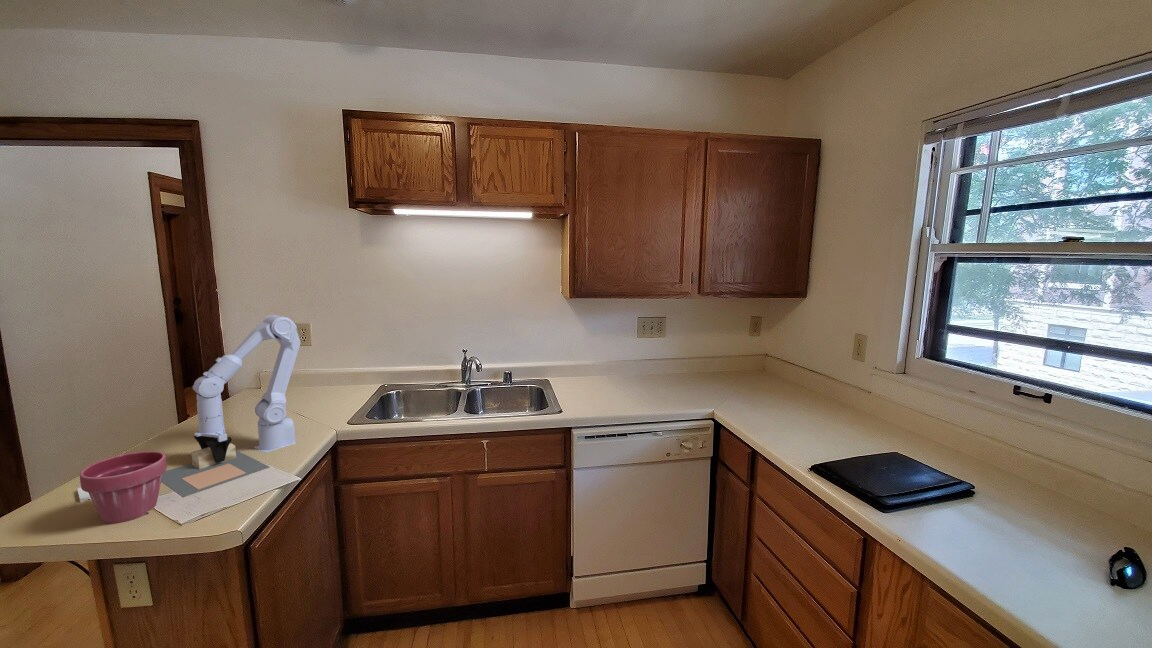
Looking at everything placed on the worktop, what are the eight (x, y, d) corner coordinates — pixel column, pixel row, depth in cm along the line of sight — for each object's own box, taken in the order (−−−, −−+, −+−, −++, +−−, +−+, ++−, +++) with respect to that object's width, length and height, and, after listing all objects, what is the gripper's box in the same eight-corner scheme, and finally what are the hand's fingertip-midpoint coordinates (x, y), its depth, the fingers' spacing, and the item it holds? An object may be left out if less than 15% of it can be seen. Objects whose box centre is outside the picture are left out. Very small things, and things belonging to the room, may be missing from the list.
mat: (236, 451, 137) (236, 449, 137) (270, 468, 126) (270, 466, 126) (152, 477, 120) (151, 474, 120) (183, 499, 109) (183, 496, 109)
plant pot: (149, 524, 98) (143, 472, 97) (68, 535, 94) (60, 481, 92) (182, 493, 112) (177, 447, 110) (112, 502, 107) (106, 454, 105)
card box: (228, 453, 134) (227, 441, 134) (236, 457, 132) (235, 445, 131) (192, 464, 126) (191, 452, 126) (199, 469, 124) (198, 456, 123)
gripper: (183, 414, 127) (187, 457, 129) (204, 424, 120) (208, 469, 122) (212, 408, 133) (216, 449, 135) (234, 417, 126) (237, 460, 128)
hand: (214, 458), depth 129 cm, fingers open, 7 cm apart
